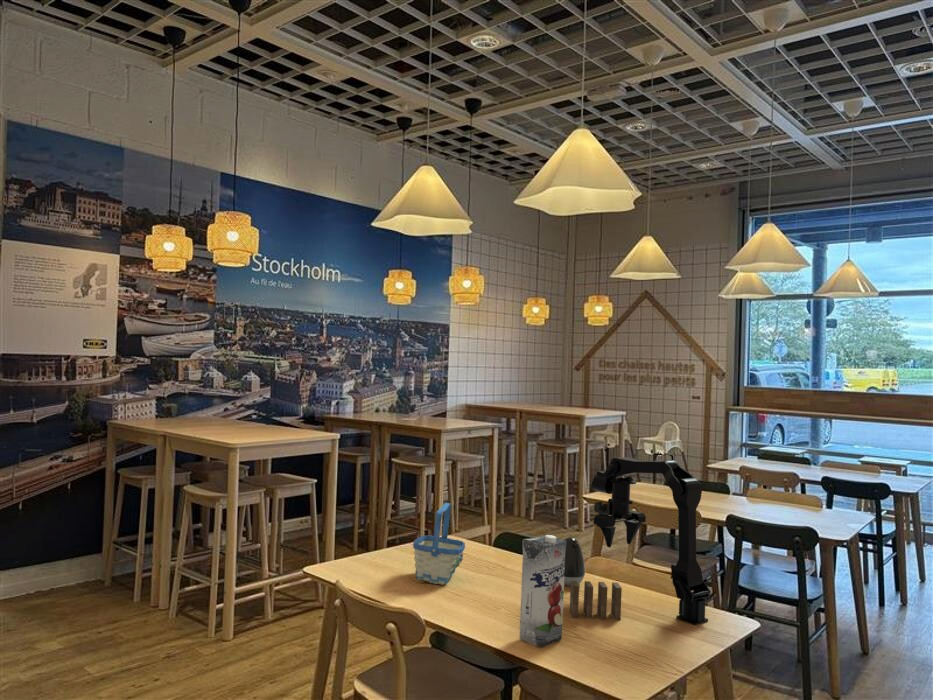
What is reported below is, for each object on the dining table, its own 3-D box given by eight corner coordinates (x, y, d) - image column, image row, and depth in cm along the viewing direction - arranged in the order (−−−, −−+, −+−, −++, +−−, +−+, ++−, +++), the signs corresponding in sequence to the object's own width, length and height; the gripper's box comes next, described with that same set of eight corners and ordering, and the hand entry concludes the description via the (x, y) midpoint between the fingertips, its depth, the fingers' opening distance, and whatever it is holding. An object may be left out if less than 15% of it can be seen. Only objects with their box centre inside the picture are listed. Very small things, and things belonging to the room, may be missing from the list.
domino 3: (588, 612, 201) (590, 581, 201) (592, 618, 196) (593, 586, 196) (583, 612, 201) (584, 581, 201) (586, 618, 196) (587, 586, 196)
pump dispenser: (561, 589, 222) (563, 541, 222) (548, 579, 232) (550, 533, 232) (590, 588, 225) (592, 540, 225) (576, 578, 235) (578, 533, 235)
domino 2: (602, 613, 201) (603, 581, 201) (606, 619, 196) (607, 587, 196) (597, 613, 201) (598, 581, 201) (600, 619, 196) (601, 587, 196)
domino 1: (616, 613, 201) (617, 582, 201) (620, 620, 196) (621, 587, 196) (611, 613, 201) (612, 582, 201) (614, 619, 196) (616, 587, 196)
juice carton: (514, 639, 178) (518, 533, 179) (540, 630, 185) (544, 528, 186) (540, 650, 172) (545, 540, 173) (566, 640, 179) (570, 535, 180)
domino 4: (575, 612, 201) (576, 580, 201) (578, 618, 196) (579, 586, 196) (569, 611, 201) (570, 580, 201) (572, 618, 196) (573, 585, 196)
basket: (457, 590, 217) (461, 514, 218) (406, 585, 219) (410, 510, 220) (467, 571, 237) (470, 502, 238) (421, 567, 240) (424, 499, 241)
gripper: (621, 490, 235) (619, 537, 234) (581, 494, 224) (580, 543, 224) (647, 496, 226) (645, 544, 225) (607, 500, 215) (605, 551, 214)
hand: (618, 545), depth 222 cm, fingers open, 9 cm apart
